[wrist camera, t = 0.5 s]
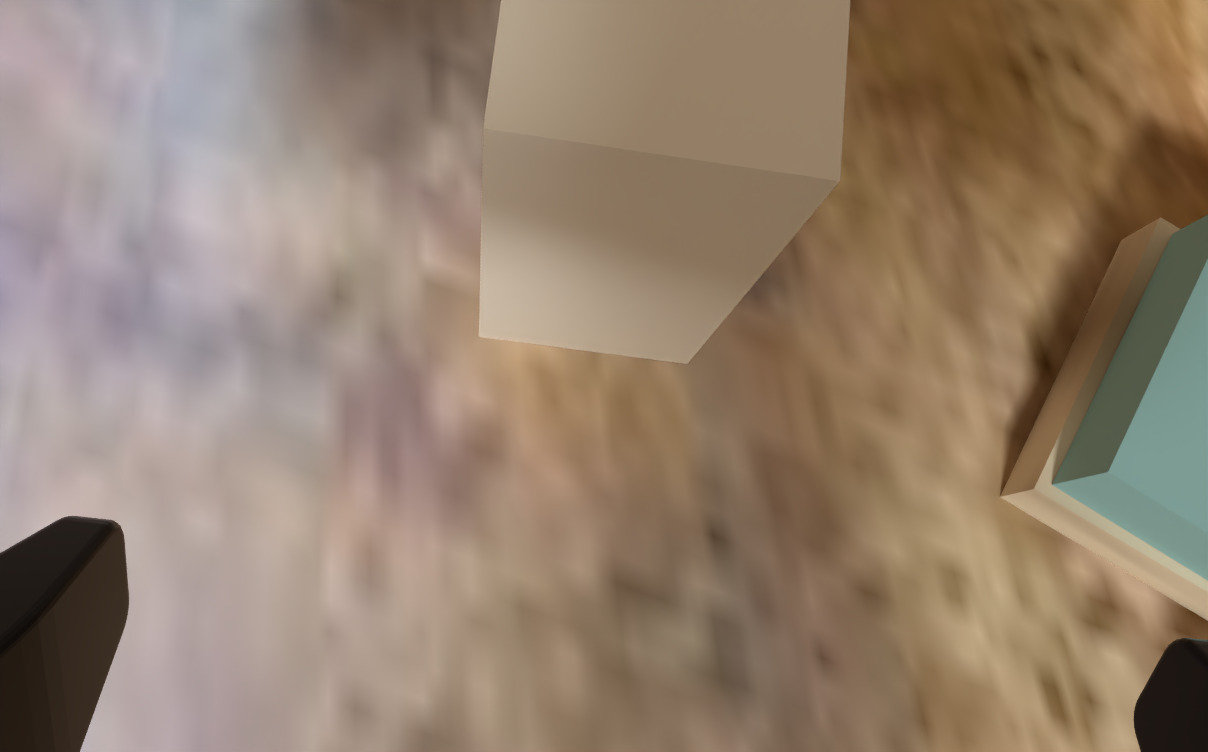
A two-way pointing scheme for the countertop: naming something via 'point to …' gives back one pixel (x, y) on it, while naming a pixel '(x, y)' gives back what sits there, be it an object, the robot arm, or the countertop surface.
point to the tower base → (1067, 412)
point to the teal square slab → (1154, 414)
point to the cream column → (651, 163)
